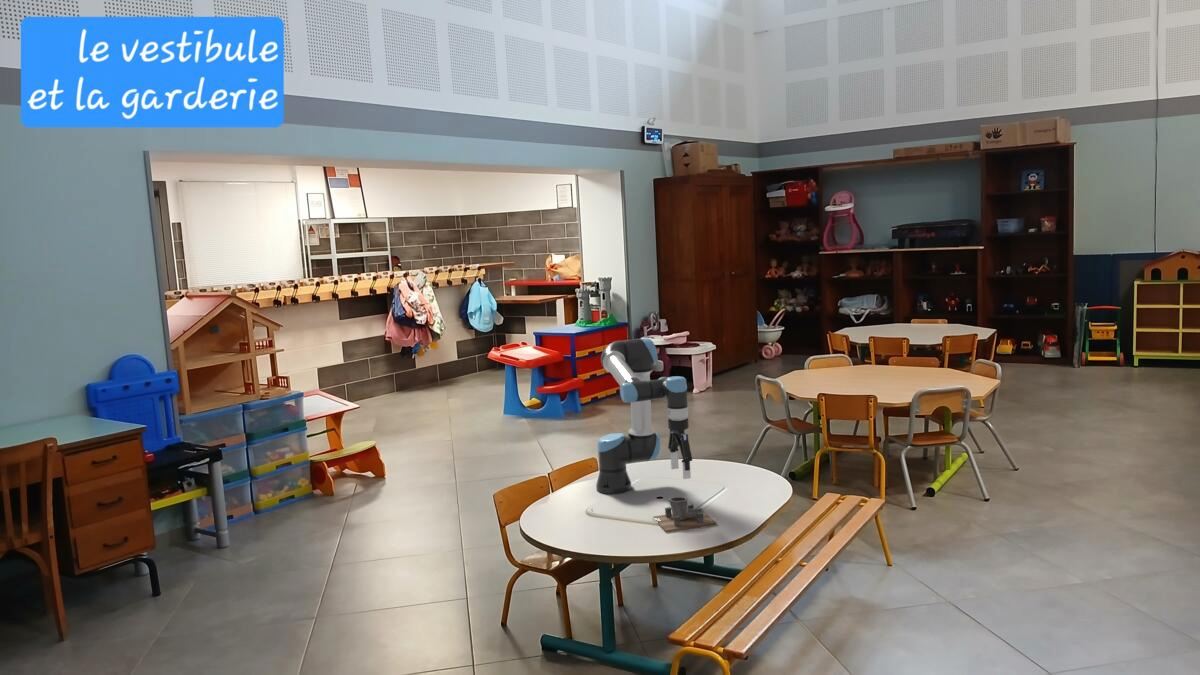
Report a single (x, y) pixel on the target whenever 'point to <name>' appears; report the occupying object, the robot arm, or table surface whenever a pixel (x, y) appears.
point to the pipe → (683, 508)
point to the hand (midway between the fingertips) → (680, 473)
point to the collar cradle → (683, 521)
